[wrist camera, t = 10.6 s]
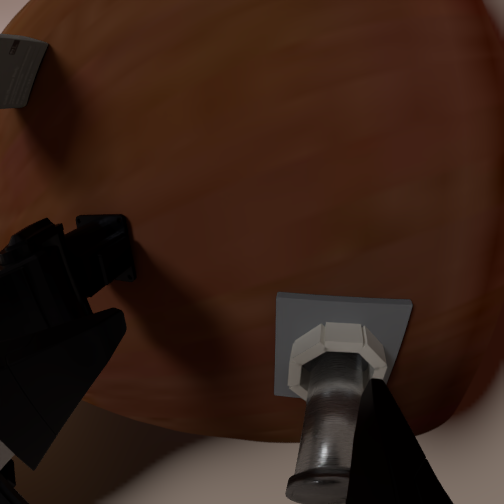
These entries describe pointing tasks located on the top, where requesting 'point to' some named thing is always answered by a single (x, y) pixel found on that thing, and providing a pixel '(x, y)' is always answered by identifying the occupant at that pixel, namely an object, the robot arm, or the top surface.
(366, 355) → the dock
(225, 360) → the top surface
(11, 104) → the skincare box
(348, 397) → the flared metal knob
